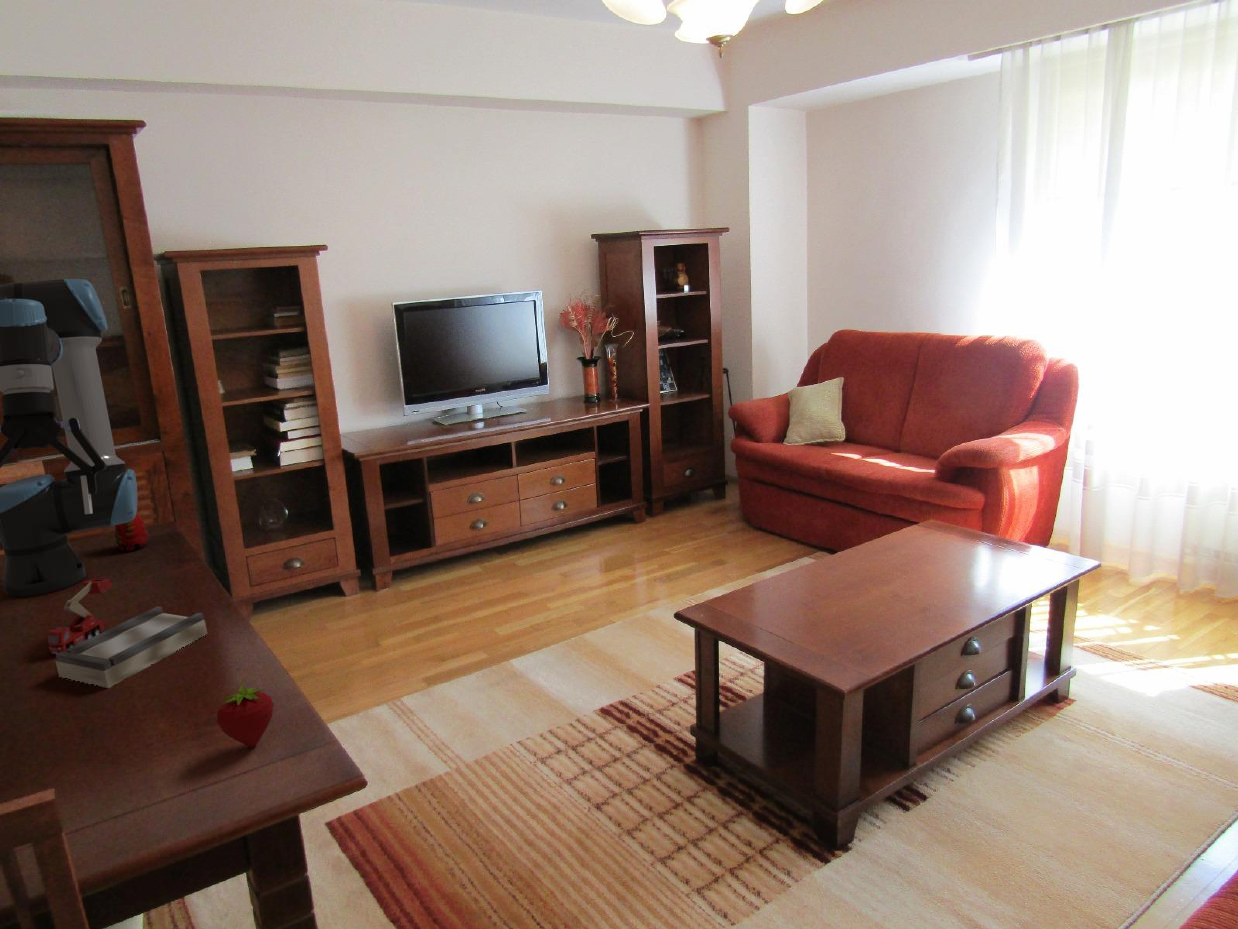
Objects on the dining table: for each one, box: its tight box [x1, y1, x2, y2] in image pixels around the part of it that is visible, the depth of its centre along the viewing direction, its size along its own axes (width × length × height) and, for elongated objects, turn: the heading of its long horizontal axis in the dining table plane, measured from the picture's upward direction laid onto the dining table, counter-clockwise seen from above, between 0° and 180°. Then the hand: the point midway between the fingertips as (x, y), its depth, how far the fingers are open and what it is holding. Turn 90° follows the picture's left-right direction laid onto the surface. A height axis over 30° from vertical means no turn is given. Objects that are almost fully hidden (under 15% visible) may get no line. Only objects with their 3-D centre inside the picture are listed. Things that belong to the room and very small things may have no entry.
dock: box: [55, 605, 208, 689], centre depth 153 cm, size 20×12×4 cm, turn 157°
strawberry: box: [216, 679, 275, 748], centre depth 122 cm, size 6×8×10 cm
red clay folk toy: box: [114, 512, 150, 552], centre depth 209 cm, size 8×7×15 cm
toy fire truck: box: [46, 578, 112, 655], centre depth 160 cm, size 3×14×10 cm, turn 168°
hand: (42, 519), depth 147 cm, fingers open, 13 cm apart
